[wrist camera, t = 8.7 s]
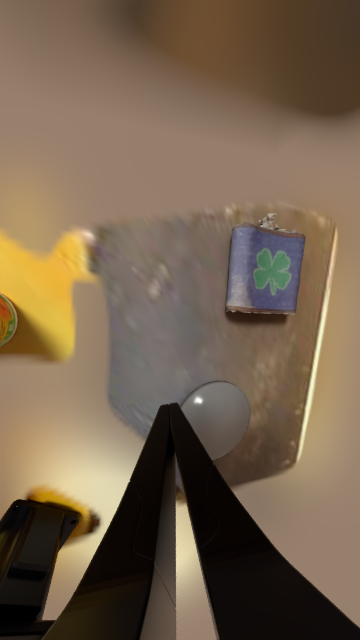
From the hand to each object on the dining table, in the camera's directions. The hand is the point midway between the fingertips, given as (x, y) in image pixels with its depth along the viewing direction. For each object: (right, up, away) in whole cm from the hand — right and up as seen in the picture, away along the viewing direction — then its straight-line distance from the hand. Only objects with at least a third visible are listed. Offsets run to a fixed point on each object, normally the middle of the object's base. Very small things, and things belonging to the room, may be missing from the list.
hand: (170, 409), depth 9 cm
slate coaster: (+5, -8, +14) cm, 17 cm away
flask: (+10, +5, +12) cm, 16 cm away
